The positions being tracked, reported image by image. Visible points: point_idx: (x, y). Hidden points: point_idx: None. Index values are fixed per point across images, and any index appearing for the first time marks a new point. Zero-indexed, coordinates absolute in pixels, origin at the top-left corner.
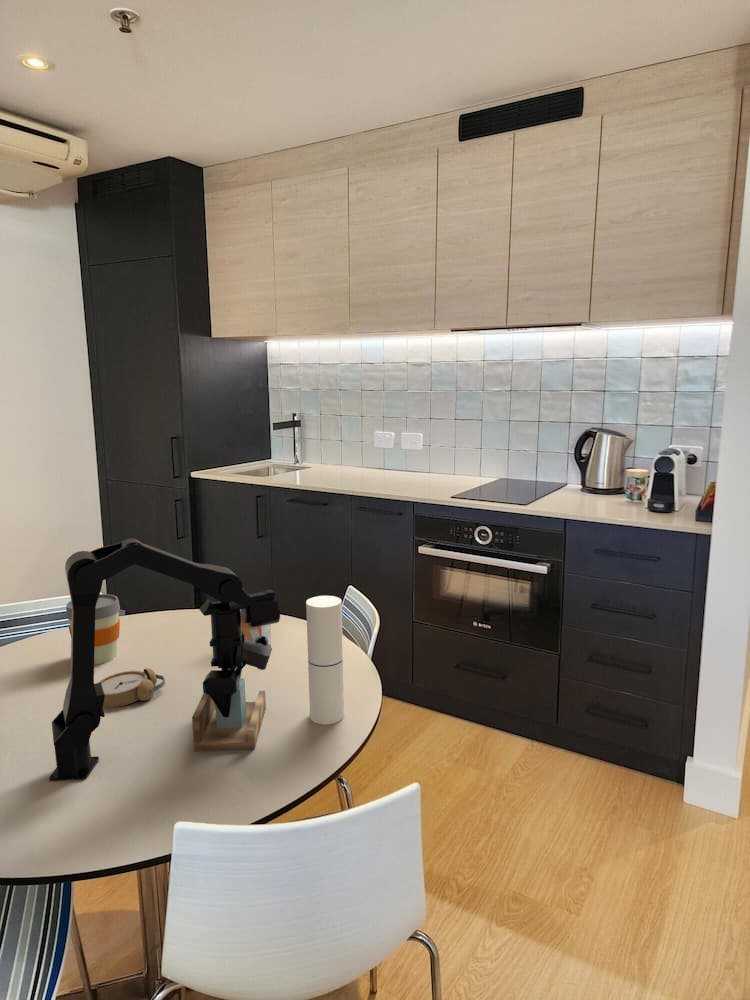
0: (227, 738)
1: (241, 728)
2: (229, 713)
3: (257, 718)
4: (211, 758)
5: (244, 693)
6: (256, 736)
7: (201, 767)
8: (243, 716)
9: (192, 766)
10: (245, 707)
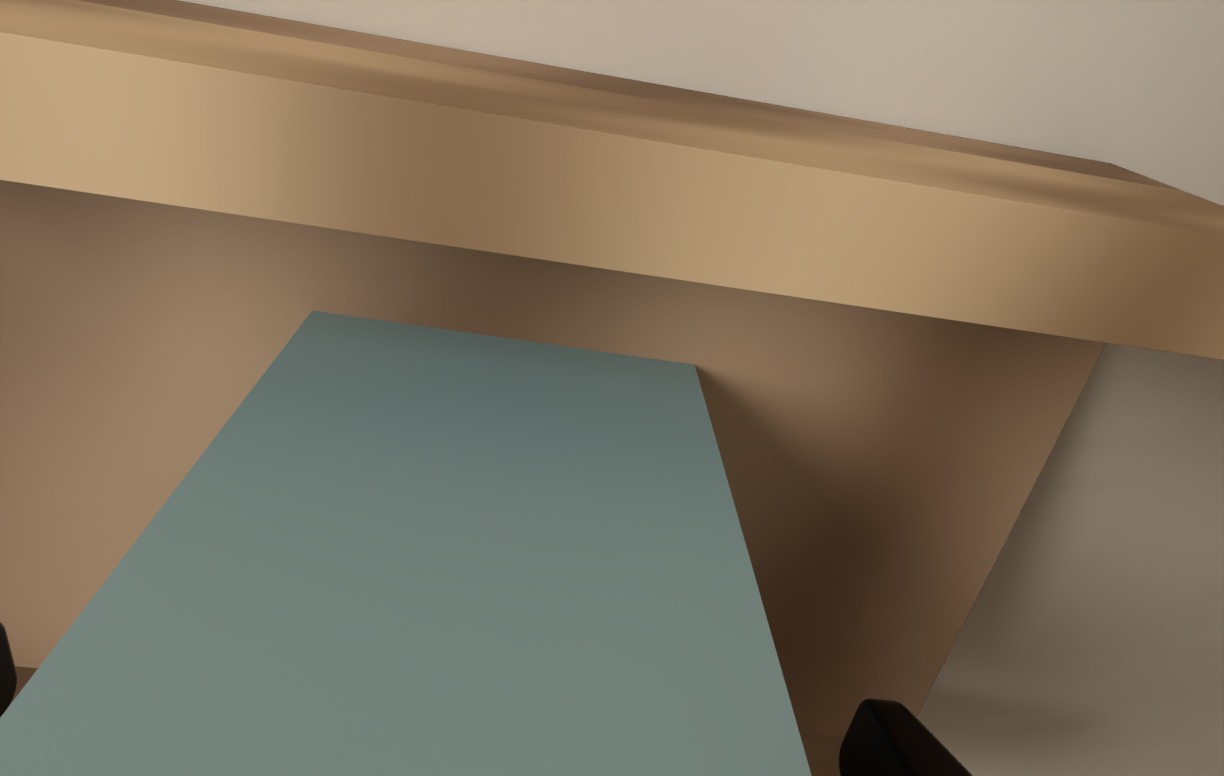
0: (910, 522)
1: (719, 372)
2: (942, 753)
3: (871, 171)
4: (1047, 590)
5: (208, 606)
6: (973, 150)
7: (1152, 650)
8: (549, 392)
9: (1095, 707)
10: (309, 387)
